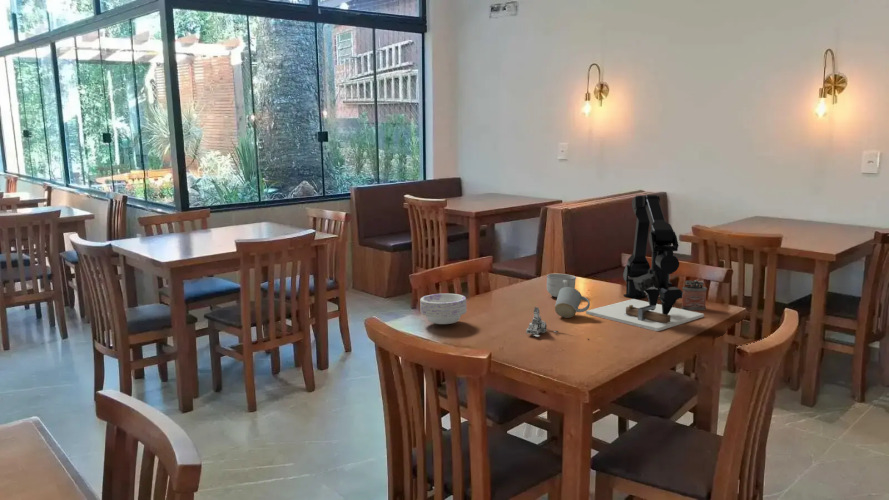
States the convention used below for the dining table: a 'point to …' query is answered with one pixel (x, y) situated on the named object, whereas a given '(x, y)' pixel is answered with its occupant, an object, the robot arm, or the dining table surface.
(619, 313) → the pivot board
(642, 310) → the keeper
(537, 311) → the grey irregular piece
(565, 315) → the ceramic mug
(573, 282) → the teacup
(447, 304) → the white speckled bowl
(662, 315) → the link
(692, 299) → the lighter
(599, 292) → the dining table surface
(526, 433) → the salt and pepper shakers
